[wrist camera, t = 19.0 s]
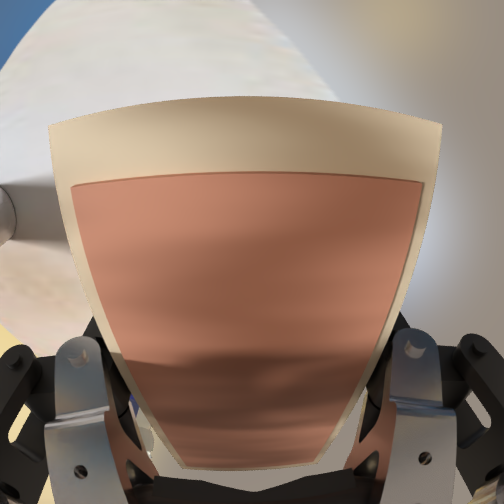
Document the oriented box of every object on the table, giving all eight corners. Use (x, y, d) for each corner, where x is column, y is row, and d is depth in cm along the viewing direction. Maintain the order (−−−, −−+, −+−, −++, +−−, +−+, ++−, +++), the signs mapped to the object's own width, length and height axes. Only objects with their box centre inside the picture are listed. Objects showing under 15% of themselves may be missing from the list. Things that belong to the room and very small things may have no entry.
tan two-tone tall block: (182, 471, 9) (42, 127, 3) (187, 406, 12) (128, 114, 6) (317, 466, 9) (447, 125, 3) (305, 403, 13) (356, 112, 6)
